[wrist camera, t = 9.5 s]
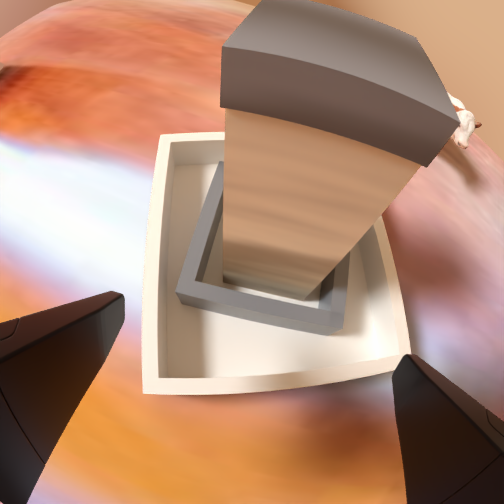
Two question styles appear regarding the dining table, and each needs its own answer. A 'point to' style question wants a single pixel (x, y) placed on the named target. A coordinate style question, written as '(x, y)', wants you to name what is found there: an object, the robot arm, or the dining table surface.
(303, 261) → the wooden block
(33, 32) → the dining table surface
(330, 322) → the walled box
